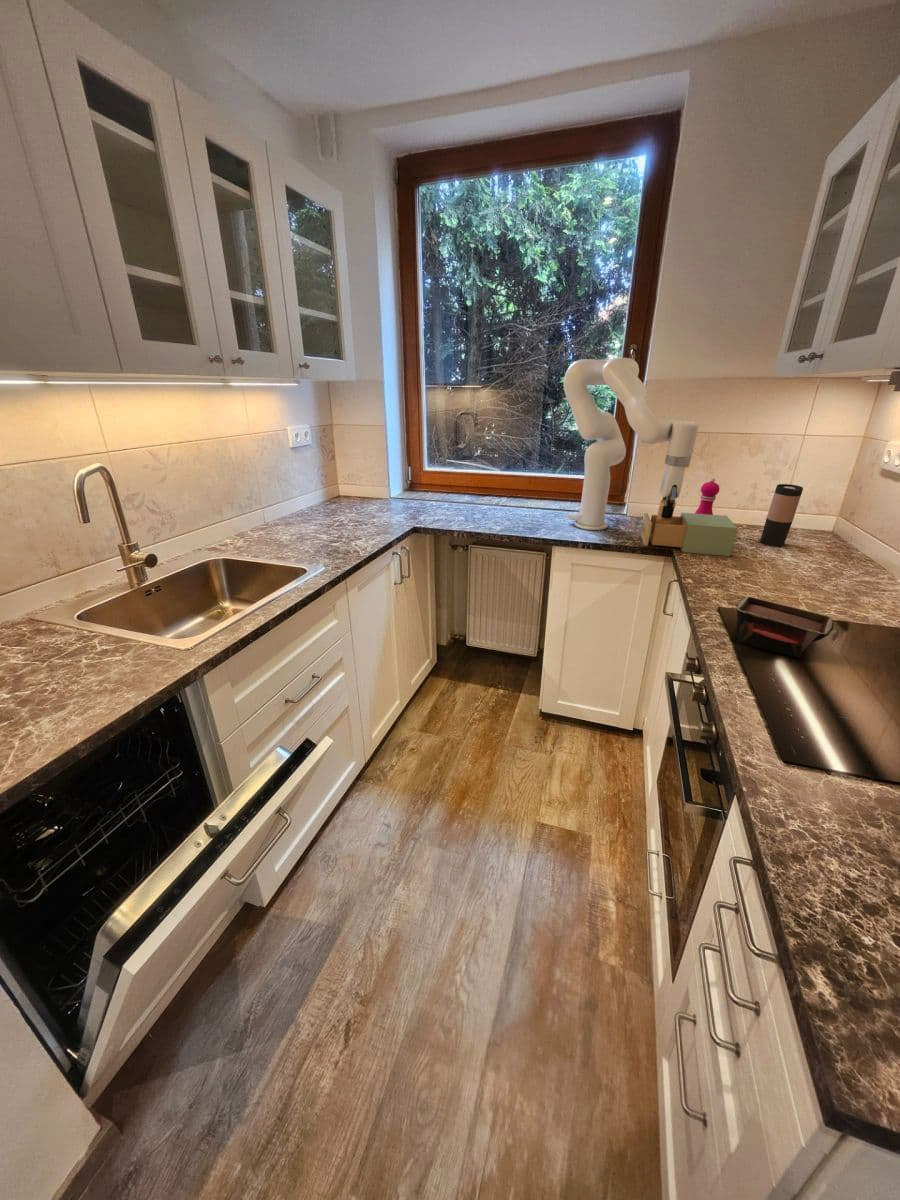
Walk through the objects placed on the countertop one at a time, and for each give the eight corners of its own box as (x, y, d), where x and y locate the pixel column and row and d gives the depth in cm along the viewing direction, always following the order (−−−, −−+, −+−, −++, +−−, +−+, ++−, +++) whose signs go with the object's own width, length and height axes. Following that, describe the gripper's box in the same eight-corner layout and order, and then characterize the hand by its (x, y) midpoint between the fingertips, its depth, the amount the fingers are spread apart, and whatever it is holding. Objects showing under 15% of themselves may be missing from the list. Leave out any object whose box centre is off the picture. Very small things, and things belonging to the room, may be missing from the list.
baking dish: (745, 625, 117) (748, 588, 113) (835, 642, 104) (843, 602, 100) (723, 650, 108) (726, 611, 105) (818, 673, 96) (826, 629, 92)
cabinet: (682, 552, 158) (688, 524, 154) (675, 538, 171) (681, 512, 166) (729, 556, 155) (737, 528, 150) (719, 542, 167) (726, 515, 163)
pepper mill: (713, 534, 175) (728, 480, 166) (694, 534, 175) (707, 479, 166) (704, 528, 182) (718, 475, 173) (686, 528, 182) (698, 475, 173)
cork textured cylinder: (653, 537, 163) (661, 503, 158) (652, 532, 167) (659, 499, 162) (668, 538, 162) (676, 504, 157) (666, 534, 166) (674, 500, 161)
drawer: (630, 544, 162) (634, 522, 158) (628, 532, 173) (631, 512, 170) (686, 549, 158) (691, 526, 154) (679, 536, 169) (684, 515, 166)
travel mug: (762, 538, 171) (780, 482, 162) (787, 543, 166) (806, 486, 157) (756, 543, 166) (773, 486, 158) (781, 548, 161) (800, 490, 153)
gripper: (661, 456, 161) (650, 507, 170) (668, 465, 147) (656, 521, 155) (685, 457, 160) (673, 509, 168) (694, 467, 145) (680, 523, 153)
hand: (665, 514), depth 161 cm, fingers closed on cork textured cylinder, 4 cm apart
